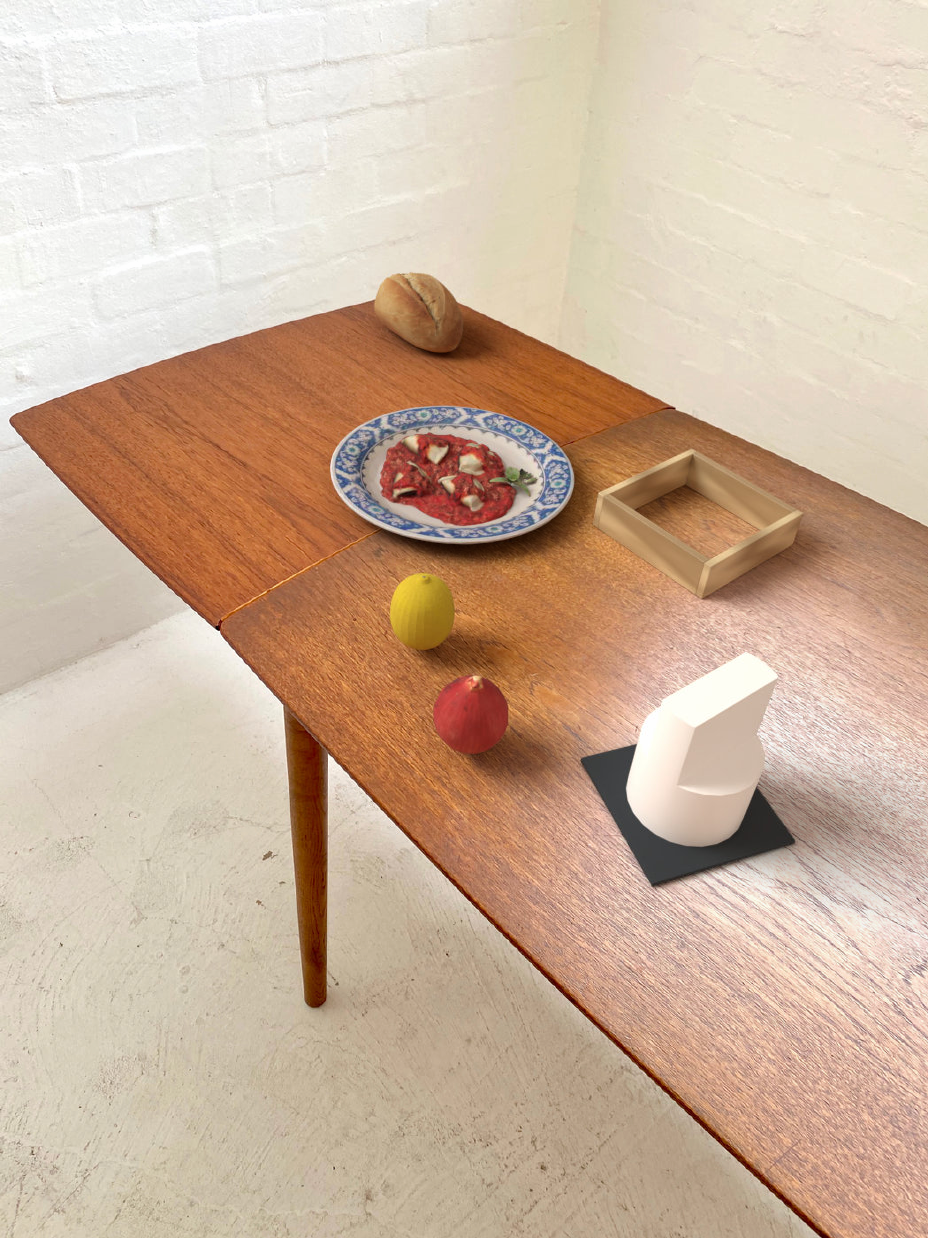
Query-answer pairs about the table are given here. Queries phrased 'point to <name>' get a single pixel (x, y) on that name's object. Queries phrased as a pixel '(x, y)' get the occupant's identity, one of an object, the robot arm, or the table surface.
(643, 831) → the slate mat
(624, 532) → the square wooden frame
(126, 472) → the table surface
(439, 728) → the onion
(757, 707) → the cylinder with rectangular tab
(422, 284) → the bread roll
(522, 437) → the ceramic plate
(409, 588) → the lemon
